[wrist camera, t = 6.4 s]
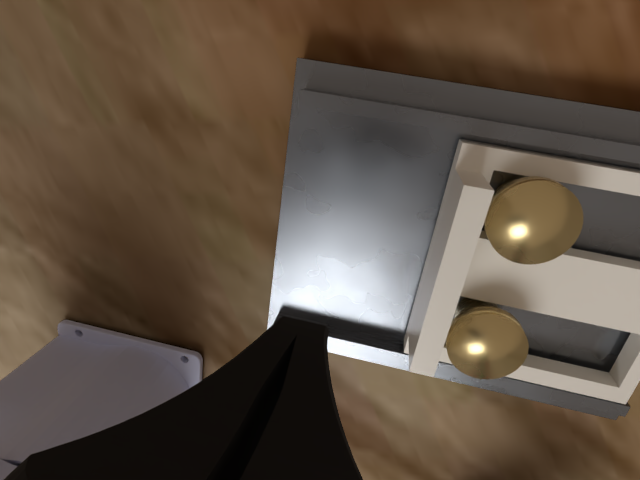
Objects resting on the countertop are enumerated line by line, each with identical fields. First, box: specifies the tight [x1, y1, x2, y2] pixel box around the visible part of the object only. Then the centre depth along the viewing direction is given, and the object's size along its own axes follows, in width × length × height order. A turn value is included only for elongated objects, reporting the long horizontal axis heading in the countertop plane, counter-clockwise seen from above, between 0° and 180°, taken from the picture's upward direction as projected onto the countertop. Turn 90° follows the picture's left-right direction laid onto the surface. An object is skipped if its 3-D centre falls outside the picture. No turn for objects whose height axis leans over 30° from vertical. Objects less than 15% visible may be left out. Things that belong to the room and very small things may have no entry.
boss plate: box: [267, 58, 640, 420], centre depth 18 cm, size 18×14×4 cm
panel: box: [404, 139, 640, 404], centre depth 16 cm, size 10×10×4 cm
